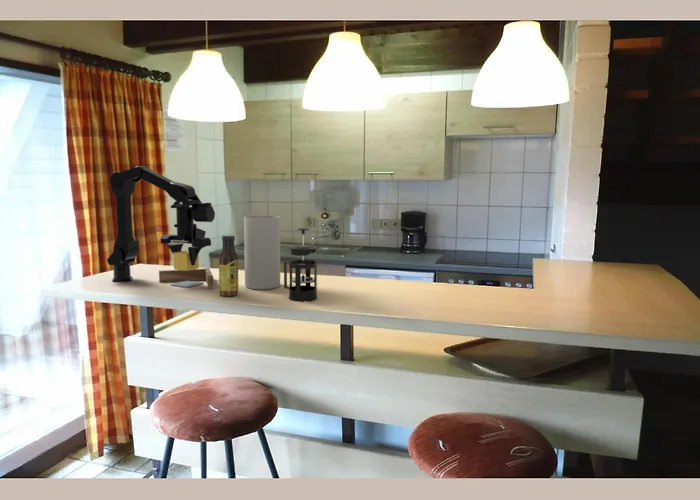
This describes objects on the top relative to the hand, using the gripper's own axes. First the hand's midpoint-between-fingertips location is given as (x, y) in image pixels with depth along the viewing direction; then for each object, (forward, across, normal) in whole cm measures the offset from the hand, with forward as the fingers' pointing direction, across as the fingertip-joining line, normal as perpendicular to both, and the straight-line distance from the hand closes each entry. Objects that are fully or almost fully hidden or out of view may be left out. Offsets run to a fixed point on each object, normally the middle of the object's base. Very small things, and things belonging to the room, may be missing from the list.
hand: (186, 264), depth 184 cm
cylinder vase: (+8, -25, -11) cm, 29 cm away
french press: (+7, -46, -3) cm, 47 cm away
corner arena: (+7, +1, 0) cm, 7 cm away
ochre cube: (+2, 0, 0) cm, 2 cm away
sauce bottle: (+8, -23, +5) cm, 25 cm away
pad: (+7, 0, 0) cm, 7 cm away
